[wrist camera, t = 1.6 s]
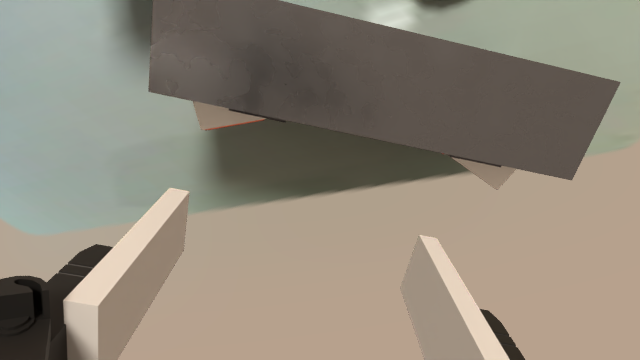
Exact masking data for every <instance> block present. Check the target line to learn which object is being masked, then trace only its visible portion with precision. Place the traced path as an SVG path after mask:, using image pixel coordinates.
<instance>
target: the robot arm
mask: <svg viewBox="0 0 640 360" xmlns="http://www.w3.org/2000/svg"><path fill="white" fill-rule="evenodd" d="M188 201H189V191H184V190H179V189H174V188H169V189H168V190H167V191H166V192H165V193H164V194H163V196H162V197H161V198H160V199H159V200H158V201H157V202H156V203H155V204H154V205H153V206H152V207H151V208H150V209H149V210H148V211H147V212H146V213H145V215H144V216H143V217H142V218H141V219H140V220H139V221H138V222H137V223H136V224H135V225H134V226H133V227H132V228H131V229H130V230H129V231H128V233H127V234H126V235H125V236H124V237H123V238H122V239H121V240H120V241H119V242H118V243H117V244H116V245H115V246H114V247H109V246H103V245H97V244H96V245H94V246H91V247H89V248H87V249H85V250H83V251H81V252H79V253H78V254H77V255H76V256H75V257H74V258H73V259H72V260H71V261H69V262H68V265H65V266H64V267H63V268H62V269H61V270H60V271H59V273H58V274H55V275H54V276H53V277H52V278H51V279H50V280H49V281H48V282H47V283H46V282H45V281H43V280H42V279H41V278H37V277H32V276H14V277H9V278H4V279H0V360H118V358H119V356H120V354H121V353H122V351H123V350H124V348H125V346H126V345H127V343H128V341H129V340H130V338H131V336H132V335H133V333H134V331H135V330H136V328H137V327H138V325H139V323H140V322H141V320H142V318H143V316H144V315H145V313H146V312H147V310H148V308H149V307H150V305H151V303H152V302H153V300H154V299H155V297H156V295H157V294H158V292H159V290H160V288H161V287H162V285H163V284H164V282H165V280H166V279H167V277H168V275H169V274H170V272H171V271H172V269H173V267H174V266H175V264H176V262H177V260H178V259H179V257H180V256H181V254H182V252H183V251H184V242H185V232H186V222H187V212H188ZM400 289H401V292H402V295H403V298H404V301H405V304H406V307H407V310H408V313H409V316H410V319H411V321H412V324H413V327H414V330H415V333H416V336H417V339H418V342H419V345H420V348H421V351H422V354H423V357H424V360H525V358H524V357H523V355H522V354H521V352H520V351H519V349H518V348H517V347H516V345H515V343H514V342H513V340H512V339H511V337H509V334H508V332H507V331H506V329H505V328H504V326H503V325H502V323H501V322H500V321H499V320H498V319H497V318H496V317H495V316H494V315H493V314H492V313H490V312H489V311H488V310H482V309H479V308H478V306H477V304H476V303H475V301H474V300H473V298H472V296H471V294H470V293H469V291H468V289H467V288H466V286H465V285H464V283H463V281H462V280H461V278H460V276H459V275H458V273H457V272H456V270H455V268H454V266H453V265H452V263H451V261H450V260H449V258H448V257H447V255H446V253H445V251H444V250H443V248H442V246H441V245H440V243H439V241H438V240H437V238H434V237H429V236H423V235H419V236H418V239H417V242H416V245H415V248H414V250H413V253H412V256H411V259H410V262H409V264H408V267H407V270H406V273H405V276H404V278H403V281H402V284H401V287H400Z"/></svg>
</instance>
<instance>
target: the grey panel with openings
mask: <svg viewBox="0 0 640 360" xmlns="http://www.w3.org/2000/svg"><path fill="white" fill-rule="evenodd" d="M619 84H620V82H618V81H614V80H609V79H605V78H601V77H597V76H593V75H589V74H584V73H580V72H576V71H572V70H568V69H563V68H559V67H555V66H551V65H547V64H543V63H538V62H534V61H530V60H526V59H522V58H517V57H513V56H509V55H505V54H501V53H497V52H492V51H488V50H484V49H480V48H476V47H471V46H467V45H463V44H459V43H455V42H451V41H446V40H442V39H438V38H434V37H430V36H425V35H421V34H417V33H413V32H409V31H405V30H400V29H396V28H392V27H388V26H384V25H380V24H375V23H371V22H367V21H363V20H359V19H354V18H350V17H346V16H342V15H338V14H334V13H329V12H325V11H321V10H317V9H313V8H308V7H304V6H300V5H296V4H292V3H288V2H283V1H279V0H153V8H152V29H151V49H150V70H149V91H148V92H153V93H157V94H162V95H167V96H172V97H177V98H181V99H186V100H191V101H196V102H200V103H205V104H210V105H215V106H219V107H224V108H229V111H233V112H238V113H243V114H248V115H252V116H257V117H262V118H267V119H271V120H276V121H281V122H285V121H291V122H296V123H301V124H305V125H310V126H315V127H320V128H325V129H329V130H334V131H339V132H344V133H348V134H353V135H358V136H363V137H367V138H372V139H377V140H382V141H387V142H391V143H396V144H401V145H406V146H410V147H415V148H420V149H425V150H430V151H434V152H439V153H444V154H448V155H449V156H450V157H453V158H458V159H463V160H468V161H472V162H477V163H482V164H487V165H492V166H496V167H501V166H506V167H511V168H515V169H521V170H525V171H530V172H535V173H539V174H544V175H549V176H554V177H559V178H563V179H568V180H572V179H573V177H574V175H575V173H576V171H577V169H578V167H579V165H580V163H581V161H582V159H583V157H584V155H585V153H586V151H587V149H588V147H589V145H590V143H591V141H592V139H593V137H594V135H595V133H596V131H597V129H598V127H599V125H600V123H601V121H602V119H603V117H604V115H605V113H606V111H607V109H608V107H609V105H610V103H611V100H612V98H613V96H614V94H615V92H616V90H617V88H618V86H619Z"/></svg>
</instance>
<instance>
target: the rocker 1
mask: <svg viewBox="0 0 640 360" xmlns="http://www.w3.org/2000/svg"><path fill="white" fill-rule="evenodd" d="M193 104H194V107H195V111H196V114H197V118H198V121H199V124H200V128H201V130H211V129H217V128H223V127H229V126H234V125H240V124H246V123H251V122H257V121H263V120H265V119H267V118H262V117H257V116H252V115H248V114H243V113H238V112H233V111H229V108H224V107H219V106H215V105H210V104H205V103H200V102H196V101H193Z"/></svg>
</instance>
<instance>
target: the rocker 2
mask: <svg viewBox="0 0 640 360" xmlns="http://www.w3.org/2000/svg"><path fill="white" fill-rule="evenodd" d="M442 154H444V153H442ZM447 155H448V154H447ZM448 156H449V155H448ZM451 158H453V157H451ZM453 159H454V160H455V161H457V162H458V163H460V164H461V165H462V166H464V167H465V168H467V169H468V170H470V171H471V172H472V173H474V174H475V175H477V176H478V177H479V178H481V179H482V180H484V181H485V182H486V183H488V184H489V185H491V186H492V187H493V188H495V189H496V190H498V189H499V187H500V186H501V185H502V184H503V183H504V182H505V181H506V180H507V179H508V178H509V177H510V175H511V174H512V173H513V172H514V171H515V170H516V169H515V168H511V167H506V166H501V167H496V166H492V165H487V164H482V163H477V162H472V161H468V160H463V159H458V158H453Z"/></svg>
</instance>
